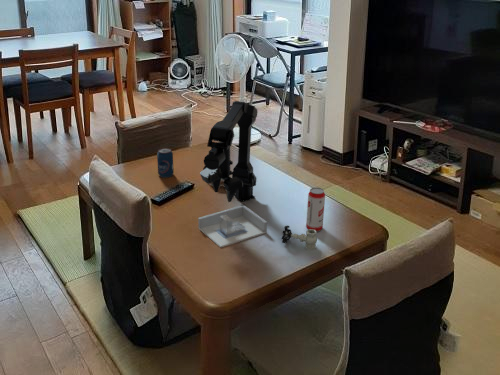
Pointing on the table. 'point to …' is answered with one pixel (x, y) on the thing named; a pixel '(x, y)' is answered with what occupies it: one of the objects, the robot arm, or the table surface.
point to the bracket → (230, 226)
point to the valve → (301, 237)
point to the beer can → (315, 209)
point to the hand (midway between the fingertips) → (222, 196)
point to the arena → (240, 214)
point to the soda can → (165, 162)
